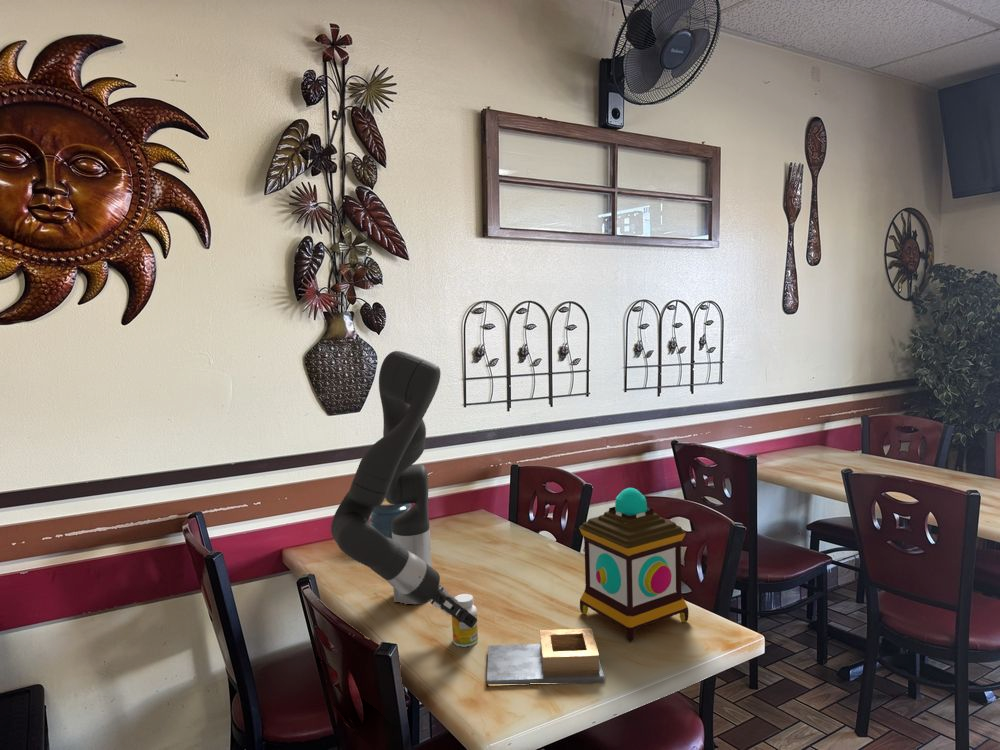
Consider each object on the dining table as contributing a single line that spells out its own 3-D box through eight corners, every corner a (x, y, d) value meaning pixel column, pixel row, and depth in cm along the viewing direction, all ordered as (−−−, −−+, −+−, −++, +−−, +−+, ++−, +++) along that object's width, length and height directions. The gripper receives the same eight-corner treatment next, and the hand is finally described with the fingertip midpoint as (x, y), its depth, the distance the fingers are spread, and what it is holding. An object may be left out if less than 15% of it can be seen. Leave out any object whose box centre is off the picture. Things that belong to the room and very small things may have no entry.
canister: (368, 540, 208) (365, 485, 206) (409, 534, 212) (406, 480, 210) (373, 554, 196) (369, 495, 194) (416, 547, 200) (413, 490, 198)
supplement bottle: (452, 636, 144) (450, 593, 143) (477, 634, 145) (475, 591, 144) (453, 648, 139) (451, 604, 138) (478, 646, 139) (476, 602, 138)
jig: (487, 686, 124) (486, 662, 124) (488, 651, 137) (487, 629, 137) (604, 682, 124) (603, 658, 124) (594, 647, 137) (594, 625, 137)
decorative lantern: (571, 612, 153) (567, 485, 150) (636, 591, 163) (633, 472, 160) (629, 649, 136) (626, 506, 133) (698, 623, 146) (696, 489, 143)
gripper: (437, 571, 130) (491, 613, 136) (410, 550, 142) (460, 589, 149) (413, 604, 127) (469, 645, 134) (387, 580, 140) (440, 618, 146)
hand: (464, 615), depth 141 cm, fingers open, 8 cm apart
